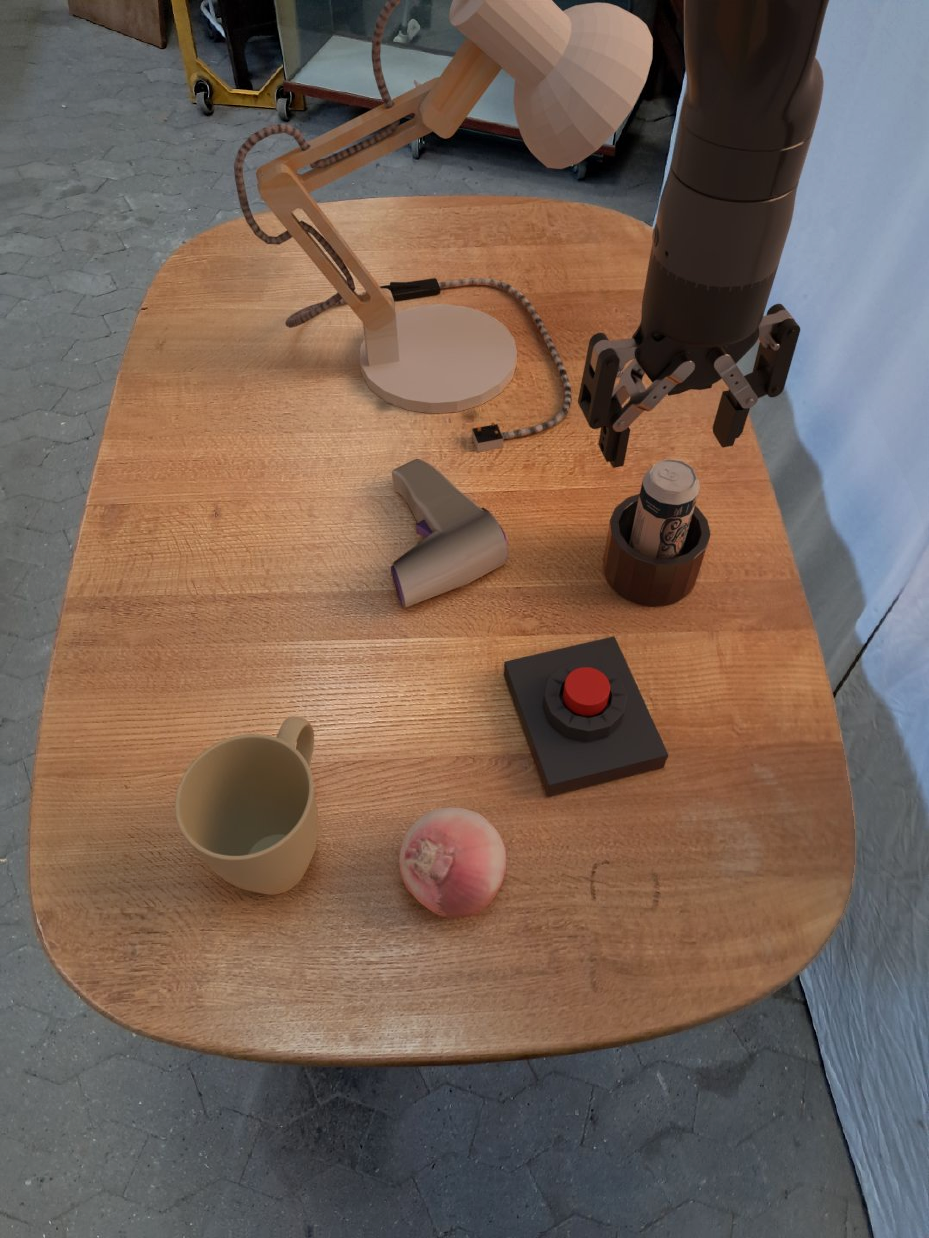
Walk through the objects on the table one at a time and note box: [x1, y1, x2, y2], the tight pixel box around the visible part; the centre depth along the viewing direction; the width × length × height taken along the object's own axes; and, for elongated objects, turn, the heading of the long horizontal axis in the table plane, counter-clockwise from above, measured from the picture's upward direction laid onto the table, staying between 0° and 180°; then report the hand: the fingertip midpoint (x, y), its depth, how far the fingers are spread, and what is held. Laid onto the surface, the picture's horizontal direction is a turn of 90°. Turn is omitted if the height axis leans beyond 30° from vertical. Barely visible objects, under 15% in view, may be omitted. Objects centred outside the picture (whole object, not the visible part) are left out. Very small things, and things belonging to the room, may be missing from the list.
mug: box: [174, 715, 320, 896], centre depth 65 cm, size 11×10×12 cm
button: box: [563, 667, 610, 716], centre depth 73 cm, size 4×4×2 cm
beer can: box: [629, 458, 701, 558], centre depth 81 cm, size 5×5×12 cm
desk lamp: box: [233, 0, 654, 453], centre depth 88 cm, size 31×38×40 cm
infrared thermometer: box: [390, 458, 509, 609], centre depth 86 cm, size 5×12×15 cm
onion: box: [398, 806, 508, 919], centre depth 65 cm, size 8×8×7 cm
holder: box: [602, 493, 711, 608], centre depth 83 cm, size 9×9×6 cm
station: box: [503, 636, 669, 798], centre depth 75 cm, size 12×10×4 cm
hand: (668, 449), depth 67 cm, fingers open, 8 cm apart
